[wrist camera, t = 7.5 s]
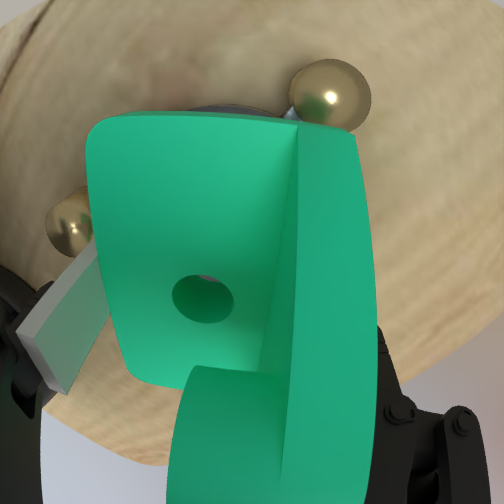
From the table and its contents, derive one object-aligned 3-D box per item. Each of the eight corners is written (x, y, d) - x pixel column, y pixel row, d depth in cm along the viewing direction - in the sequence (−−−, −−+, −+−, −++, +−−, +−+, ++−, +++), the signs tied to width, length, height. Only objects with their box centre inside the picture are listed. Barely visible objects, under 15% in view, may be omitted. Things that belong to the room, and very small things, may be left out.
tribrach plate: (97, 312, 20) (81, 340, 18) (65, 70, 12) (31, 72, 9) (307, 339, 20) (310, 373, 18) (364, 74, 12) (387, 71, 9)
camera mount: (121, 109, 9) (-157, 252, 1) (334, 124, 9) (606, 385, 1) (145, 342, 16) (86, 514, 7) (282, 361, 16) (282, 550, 7)
